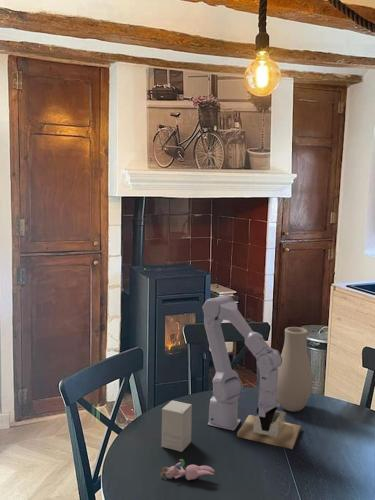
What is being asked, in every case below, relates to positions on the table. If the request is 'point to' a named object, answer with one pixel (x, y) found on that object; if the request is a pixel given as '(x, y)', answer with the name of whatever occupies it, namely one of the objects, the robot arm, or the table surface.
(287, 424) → the board
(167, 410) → the supplement box
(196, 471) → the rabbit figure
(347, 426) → the table surface
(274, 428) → the beige hollow boxy piece
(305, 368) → the vase
